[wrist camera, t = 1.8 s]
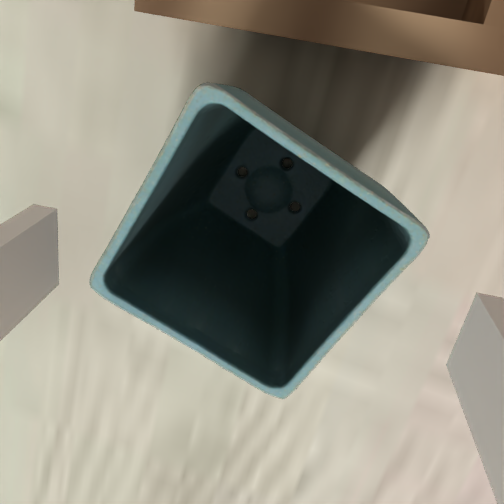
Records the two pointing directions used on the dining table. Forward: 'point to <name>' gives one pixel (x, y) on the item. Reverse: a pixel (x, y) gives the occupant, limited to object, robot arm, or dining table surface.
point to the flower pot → (254, 242)
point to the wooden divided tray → (365, 25)
